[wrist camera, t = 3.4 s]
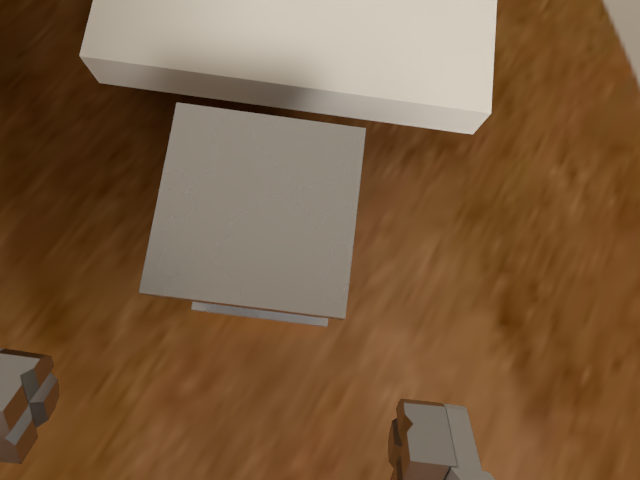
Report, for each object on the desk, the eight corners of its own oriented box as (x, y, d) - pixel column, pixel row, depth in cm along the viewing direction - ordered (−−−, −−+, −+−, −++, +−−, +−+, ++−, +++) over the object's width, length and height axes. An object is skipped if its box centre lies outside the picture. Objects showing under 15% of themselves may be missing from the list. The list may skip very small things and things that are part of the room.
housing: (196, 310, 21) (138, 292, 13) (217, 186, 22) (176, 102, 14) (325, 327, 21) (345, 318, 13) (340, 203, 22) (366, 128, 14)
